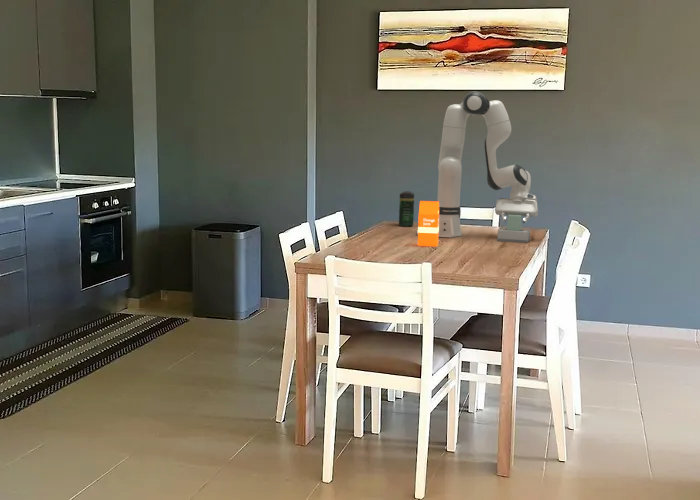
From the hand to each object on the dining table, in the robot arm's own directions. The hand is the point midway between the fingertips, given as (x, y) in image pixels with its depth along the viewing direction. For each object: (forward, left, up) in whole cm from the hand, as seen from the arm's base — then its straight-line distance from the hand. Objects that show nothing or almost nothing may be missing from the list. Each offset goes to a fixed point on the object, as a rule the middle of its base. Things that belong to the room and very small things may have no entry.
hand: (514, 221), depth 367 cm
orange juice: (-42, -15, -9) cm, 46 cm away
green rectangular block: (0, 0, -8) cm, 8 cm away
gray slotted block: (0, 0, -9) cm, 9 cm away
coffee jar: (-47, +48, -9) cm, 68 cm away
